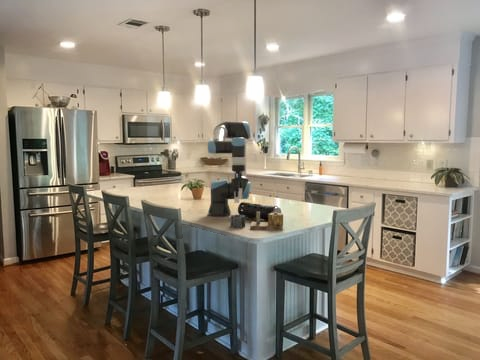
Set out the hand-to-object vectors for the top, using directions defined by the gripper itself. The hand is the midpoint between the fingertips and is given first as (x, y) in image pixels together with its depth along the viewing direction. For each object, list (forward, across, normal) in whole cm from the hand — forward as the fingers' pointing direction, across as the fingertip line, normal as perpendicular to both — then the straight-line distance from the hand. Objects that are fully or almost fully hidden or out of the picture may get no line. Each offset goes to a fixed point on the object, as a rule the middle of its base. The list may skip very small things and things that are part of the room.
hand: (238, 200), depth 228 cm
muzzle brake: (+15, +19, -11) cm, 27 cm away
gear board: (+15, -2, -17) cm, 22 cm away
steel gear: (+15, 0, 0) cm, 15 cm away
